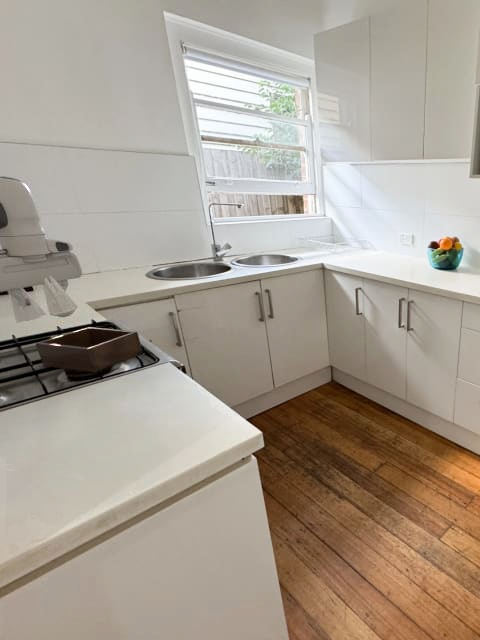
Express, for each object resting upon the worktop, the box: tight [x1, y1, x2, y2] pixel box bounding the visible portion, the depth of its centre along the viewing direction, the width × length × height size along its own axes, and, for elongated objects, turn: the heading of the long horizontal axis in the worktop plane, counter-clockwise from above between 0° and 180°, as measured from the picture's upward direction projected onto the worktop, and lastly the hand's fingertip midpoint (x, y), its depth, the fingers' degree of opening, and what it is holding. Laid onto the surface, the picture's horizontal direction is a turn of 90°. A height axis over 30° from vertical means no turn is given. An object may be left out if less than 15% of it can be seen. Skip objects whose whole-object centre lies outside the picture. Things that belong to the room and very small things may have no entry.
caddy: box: [34, 326, 144, 373], centre depth 94 cm, size 13×16×6 cm
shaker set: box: [8, 276, 78, 324], centre depth 98 cm, size 12×4×11 cm, turn 123°
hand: (44, 301), depth 98 cm, fingers closed on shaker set, 7 cm apart
